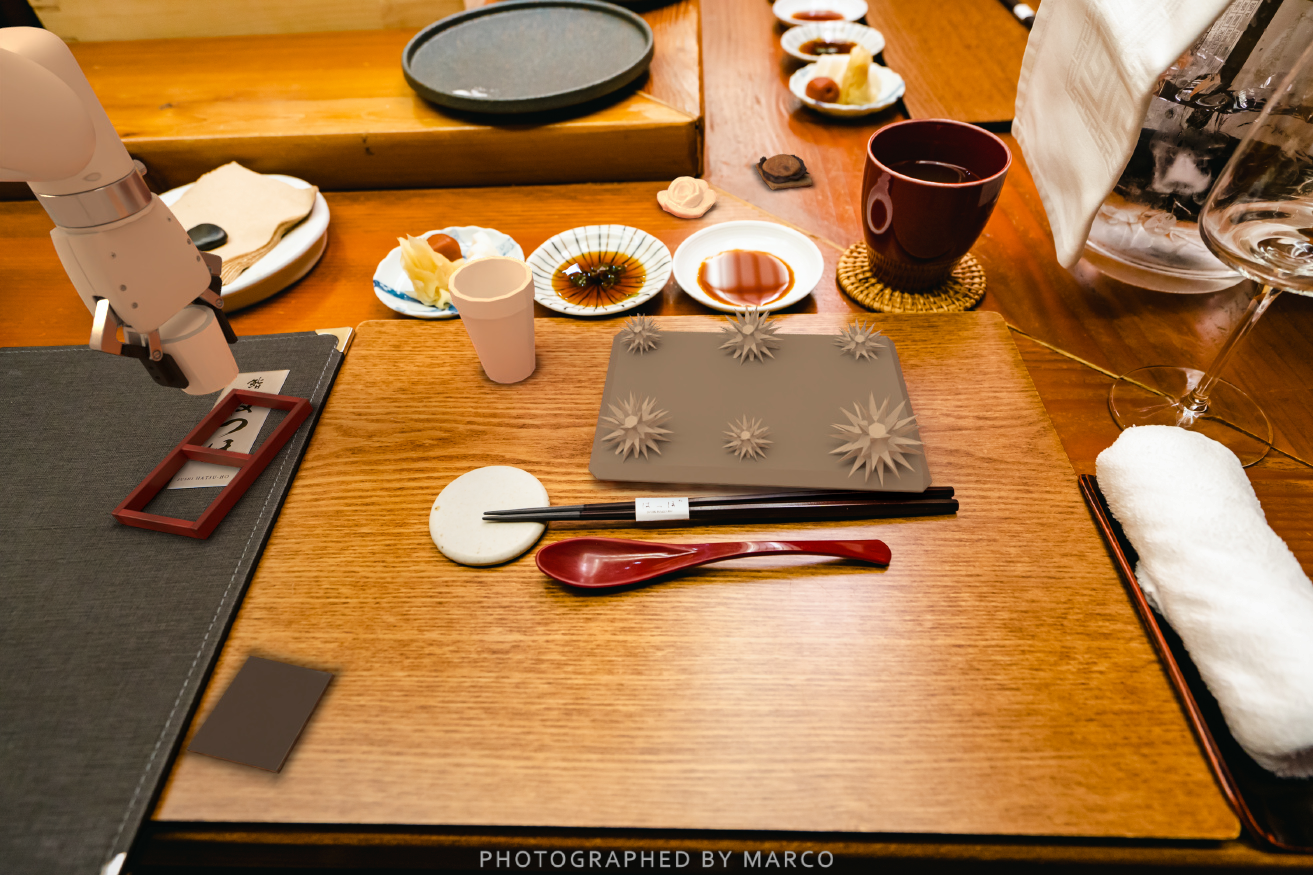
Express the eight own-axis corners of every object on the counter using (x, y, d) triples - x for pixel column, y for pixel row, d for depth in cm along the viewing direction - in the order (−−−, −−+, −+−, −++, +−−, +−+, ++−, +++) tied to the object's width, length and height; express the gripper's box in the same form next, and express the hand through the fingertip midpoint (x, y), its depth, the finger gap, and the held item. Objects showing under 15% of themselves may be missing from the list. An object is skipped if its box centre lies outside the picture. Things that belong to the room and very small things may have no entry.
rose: (716, 167, 115) (718, 193, 108) (715, 192, 118) (717, 219, 111) (657, 167, 115) (655, 194, 108) (658, 192, 118) (656, 219, 112)
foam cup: (495, 338, 90) (474, 251, 81) (559, 350, 88) (545, 262, 79) (459, 384, 84) (432, 294, 74) (527, 398, 82) (508, 307, 72)
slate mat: (278, 773, 52) (276, 771, 52) (188, 750, 53) (186, 748, 53) (334, 675, 58) (332, 673, 57) (251, 657, 59) (249, 655, 59)
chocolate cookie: (815, 187, 119) (818, 166, 116) (768, 191, 118) (770, 170, 115) (796, 161, 126) (799, 141, 123) (752, 165, 125) (754, 145, 122)
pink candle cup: (164, 378, 72) (127, 323, 67) (230, 350, 75) (199, 295, 70) (187, 408, 68) (149, 353, 63) (255, 377, 72) (224, 321, 67)
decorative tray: (888, 350, 86) (907, 282, 79) (931, 510, 68) (960, 441, 61) (616, 342, 89) (610, 276, 82) (587, 495, 71) (577, 427, 64)
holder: (313, 409, 81) (308, 398, 80) (205, 540, 68) (196, 529, 67) (240, 398, 83) (233, 387, 81) (120, 524, 70) (109, 513, 68)
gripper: (136, 154, 64) (224, 312, 77) (-32, 243, 52) (105, 413, 65) (204, 159, 63) (282, 319, 76) (48, 252, 51) (172, 424, 64)
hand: (200, 361), depth 70 cm, fingers closed on pink candle cup, 6 cm apart
